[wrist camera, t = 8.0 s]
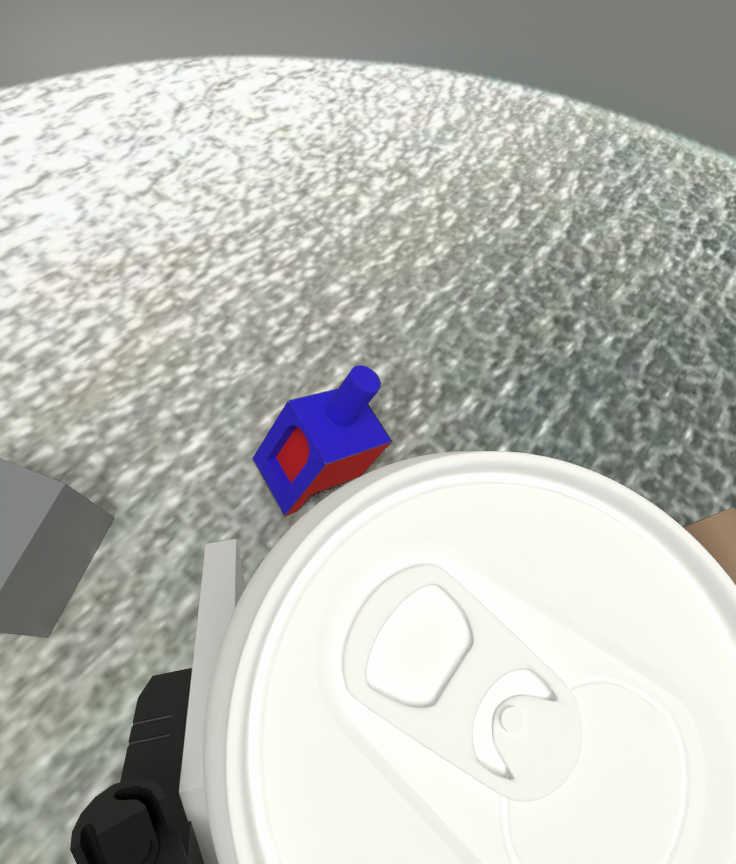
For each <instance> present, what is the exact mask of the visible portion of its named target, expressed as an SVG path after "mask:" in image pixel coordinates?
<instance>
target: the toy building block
mask: <svg viewBox="0 0 736 864" xmlns="http://www.w3.org/2000/svg"><path fill="white" fill-rule="evenodd" d="M380 387H381V382H380V379H379V377H378V375H377V374H376V373H375V372H374V371H373V370H371V369H370V368H368V367H365V366H355V367H353V369H352V370H351V371H350V373H349V374H348V376H347V377H346V378H345V380H344V381H343V383H342V384H341V386H340V387H339V388H338V389H334V390H330V391H326V392H322V393H318V394H313V395H309V396H305V397H301V398H297V399H293V400H288V402H287V403H286V405H285V407H284V408H283V410H282V411H281V413H280V415H279V416H278V418H277V420H276V421H275V423H274V424H273V426H272V428H271V429H270V431H269V432H268V434H267V436H266V437H265V439H264V441H263V442H262V444H261V445H260V447H259V449H258V450H257V452H256V454H255V455H254V457H253V460H254V462H255V464H256V466H257V467H258V469H259V471H260V473H261V474H262V476H263V478H264V480H265V482H266V483H267V485H268V487H269V489H270V491H271V492H272V494H273V496H274V498H275V500H276V501H277V503H278V505H279V507H280V508H281V510H282V512H283V514H284V516H286V515H289V514H291V513H294V512H296V511H298V510H299V509H300V508H301V506H302V505H303V504H304V503H305V502H306V500H307V499H308V498H309V497H310V496H311V495H313V494H315V493H318V492H320V491H323V490H326V489H328V488H331V487H333V486H336V485H339V484H341V483H344V482H346V481H349V480H352V479H354V478H357V477H359V476H361V475H362V474H363V473H364V472H365V471H366V470H367V468H368V467H369V466H370V465H371V464H372V463H373V462H374V461H375V460H376V459H377V458H378V456H379V455H380V454H381V453H382V452H383V451H384V450H385V449H386V448H387V447H388V446H389V444H390V443H391V442H392V440H391V439H390V437H389V436H388V434H387V433H386V431H385V429H384V428H383V426H382V425H381V423H380V422H379V420H378V419H377V417H376V416H375V414H374V413H373V411H372V410H371V408H370V406H369V405H368V403H369V402H370V400H371V399H372V398H373V397H374V395H375V394H376V393H377V392H378V390H379V389H380Z"/></svg>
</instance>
